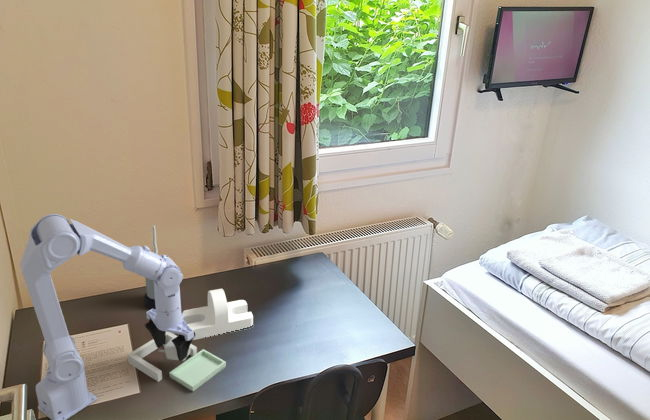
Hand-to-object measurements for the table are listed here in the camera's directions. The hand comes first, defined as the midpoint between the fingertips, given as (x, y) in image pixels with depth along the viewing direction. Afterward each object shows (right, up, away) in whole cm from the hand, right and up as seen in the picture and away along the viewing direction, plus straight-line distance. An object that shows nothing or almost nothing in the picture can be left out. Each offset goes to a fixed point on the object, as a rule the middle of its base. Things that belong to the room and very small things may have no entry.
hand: (171, 351), depth 127 cm
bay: (-3, -3, +3) cm, 5 cm away
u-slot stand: (+8, +3, +18) cm, 20 cm away
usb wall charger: (0, -1, +1) cm, 2 cm away
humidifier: (-11, +7, +26) cm, 29 cm away
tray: (+7, -5, 0) cm, 8 cm away
